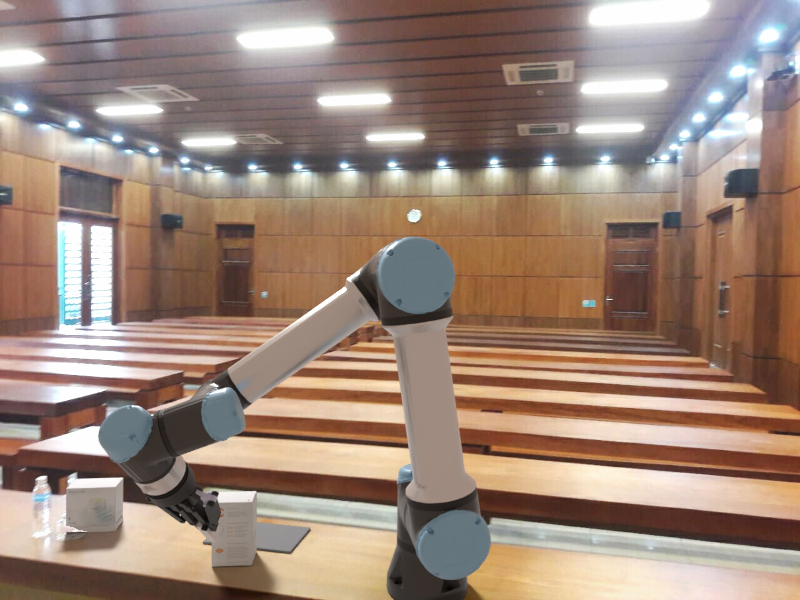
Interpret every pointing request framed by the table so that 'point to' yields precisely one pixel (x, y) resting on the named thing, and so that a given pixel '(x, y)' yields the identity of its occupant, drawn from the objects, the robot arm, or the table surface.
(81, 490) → the skincare box
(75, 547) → the table surface
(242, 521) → the small box
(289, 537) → the mat
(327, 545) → the table surface
